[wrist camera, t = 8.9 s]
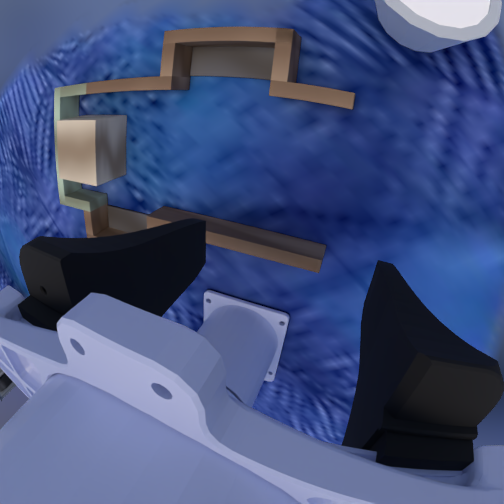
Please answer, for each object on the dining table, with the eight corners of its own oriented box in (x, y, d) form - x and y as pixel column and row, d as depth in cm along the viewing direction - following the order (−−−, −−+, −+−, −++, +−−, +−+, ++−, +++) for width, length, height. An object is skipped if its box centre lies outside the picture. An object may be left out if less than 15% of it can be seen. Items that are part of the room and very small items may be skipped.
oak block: (127, 174, 26) (96, 186, 23) (88, 167, 27) (59, 178, 24) (128, 114, 23) (95, 120, 20) (88, 114, 25) (56, 120, 21)
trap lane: (314, 293, 25) (308, 312, 23) (80, 225, 31) (64, 233, 29) (361, 46, 16) (361, 38, 14) (75, 54, 22) (56, 54, 20)
